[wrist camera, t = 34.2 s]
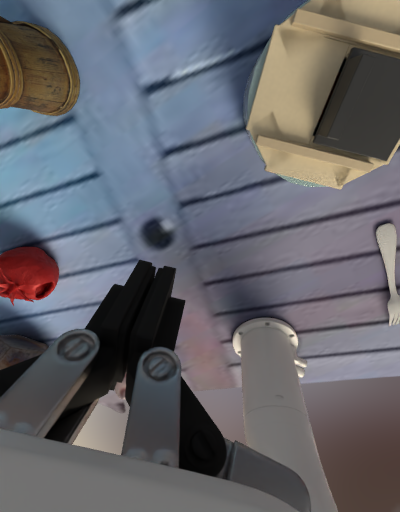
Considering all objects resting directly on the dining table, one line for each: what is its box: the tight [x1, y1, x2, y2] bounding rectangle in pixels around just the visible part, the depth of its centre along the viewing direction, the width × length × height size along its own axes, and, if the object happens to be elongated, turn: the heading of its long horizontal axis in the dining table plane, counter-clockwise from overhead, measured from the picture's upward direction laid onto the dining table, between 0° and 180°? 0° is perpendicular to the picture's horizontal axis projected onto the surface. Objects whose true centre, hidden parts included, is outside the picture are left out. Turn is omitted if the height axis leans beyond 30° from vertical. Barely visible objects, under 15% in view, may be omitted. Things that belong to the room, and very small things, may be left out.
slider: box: [313, 47, 400, 161], centre depth 19 cm, size 7×7×3 cm
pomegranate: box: [0, 247, 59, 306], centre depth 43 cm, size 10×10×9 cm
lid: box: [246, 0, 400, 189], centre depth 21 cm, size 13×13×2 cm
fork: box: [376, 223, 400, 326], centre depth 40 cm, size 3×21×3 cm, turn 24°
